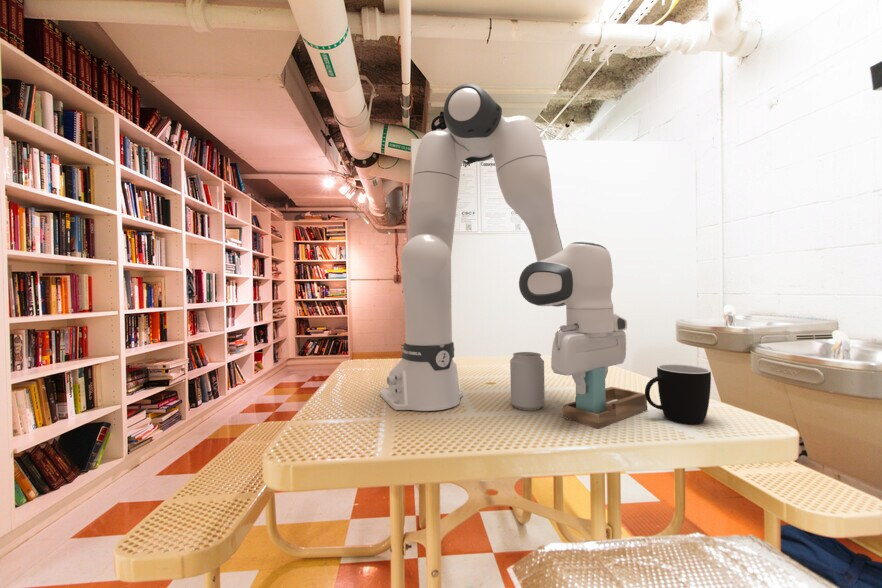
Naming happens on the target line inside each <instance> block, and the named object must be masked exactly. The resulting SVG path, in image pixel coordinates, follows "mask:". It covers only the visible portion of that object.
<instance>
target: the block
mask: <svg viewBox="0 0 882 588" xmlns="http://www.w3.org/2000/svg"><path fill="white" fill-rule="evenodd" d="M584 380H585V383H586V384H587V385H588V393H586V394H583V395H582V394H578V393H577V392H576V391H575V397H576V408H578V409H581V410H585V411H588V412H592V413H595V414H599V413H602V412H605V411H606V395H605V388H606V378H605V367H602V368H597V369H593V370H591V371H587V372H585V377H584Z"/></svg>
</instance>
